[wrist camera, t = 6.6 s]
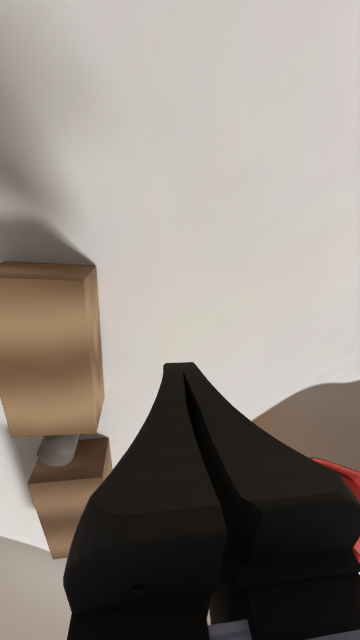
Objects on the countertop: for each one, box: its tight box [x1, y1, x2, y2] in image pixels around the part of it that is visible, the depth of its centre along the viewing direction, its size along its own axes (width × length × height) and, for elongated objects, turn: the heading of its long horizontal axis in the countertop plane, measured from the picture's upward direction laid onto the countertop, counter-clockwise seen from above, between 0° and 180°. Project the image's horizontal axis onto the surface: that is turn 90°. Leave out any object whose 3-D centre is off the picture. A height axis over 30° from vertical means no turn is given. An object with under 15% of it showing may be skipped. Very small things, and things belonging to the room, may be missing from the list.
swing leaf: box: [0, 262, 104, 466], centre depth 19 cm, size 15×6×4 cm, turn 176°
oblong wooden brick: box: [28, 438, 112, 559], centre depth 25 cm, size 12×6×4 cm, turn 178°
